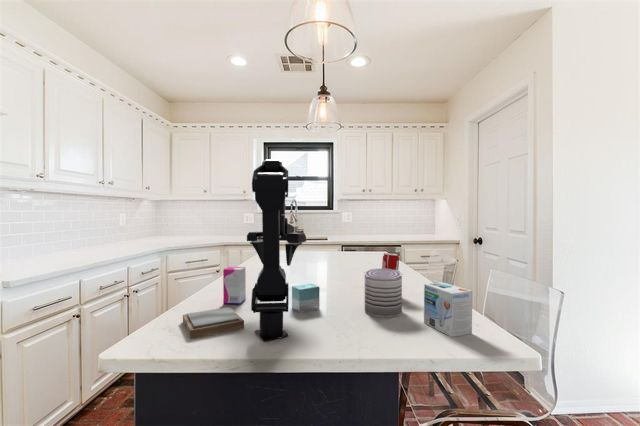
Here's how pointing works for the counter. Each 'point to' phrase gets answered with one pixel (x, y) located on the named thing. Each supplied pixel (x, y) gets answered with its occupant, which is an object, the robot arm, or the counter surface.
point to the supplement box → (234, 285)
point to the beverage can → (390, 261)
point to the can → (383, 292)
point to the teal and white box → (305, 297)
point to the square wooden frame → (212, 322)
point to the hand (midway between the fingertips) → (275, 264)
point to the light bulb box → (448, 308)
